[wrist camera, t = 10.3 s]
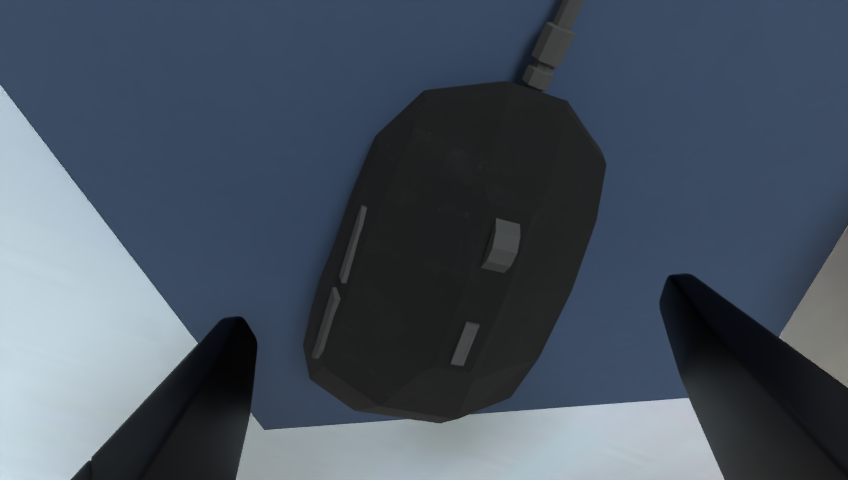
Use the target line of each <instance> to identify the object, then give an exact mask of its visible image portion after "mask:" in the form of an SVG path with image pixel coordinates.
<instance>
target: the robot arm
mask: <svg viewBox="0 0 848 480" xmlns="http://www.w3.org/2000/svg"><path fill="white" fill-rule="evenodd" d="M659 307H660V312H661V316H662V319H663V322H664V326H665V329H666V332H667V336H668V339H669V342H670V345H671V349H672V352H673V355H674V359H675V362H676V365H677V368H678V372H679V375H680V378H681V380H682V383H683V385H684V388H685V390H686V392H687V395H688V397H689V399H690V401H691V404H692V406H693V408H694V411H695V413H696V415H697V417H698V420H699V422H700V424H701V427H702V429H703V431H704V433H705V436H706V438H707V440H708V443H709V445H710V447H711V450H712V452H713V454H714V456H715V459H716V461H717V463H718V466H719V468H720V470H721V472H722V475H723V477H724V479H725V480H848V388H847V387H846V386H844V385H843V384H842V383H840V382H839V381H838V380H836V379H835V378H833V377H832V376H831V375H829V374H828V373H827V372H825V371H824V370H822V369H821V368H820V367H818V366H817V365H816V364H814V363H813V362H812V361H810V360H809V359H807V358H806V357H805V356H803V355H802V354H801V353H799V352H798V351H796V350H795V349H794V348H792V347H791V346H790V345H788V344H787V343H786V342H784V341H783V340H781V339H780V338H779V337H777V336H776V335H775V334H773V333H772V332H770V331H769V330H768V329H766V328H765V327H764V326H762V325H761V324H760V323H758V322H757V321H755V320H754V319H753V318H751V317H750V316H749V315H747V314H746V313H744V312H743V311H742V310H740V309H739V308H738V307H736V306H735V305H734V304H732V303H731V302H729V301H728V300H727V299H725V298H724V297H723V296H721V295H720V294H719V293H717V292H716V291H714V290H713V289H712V288H710V287H709V286H708V285H706V284H705V283H703V282H702V281H701V280H699V279H698V278H697V277H695V276H694V275H692V274H689V273H682V274H672V275H669V276H668V277H667V279H666V281H665V284H664V288H663V291H662V294H661V297H660V301H659ZM257 349H258V344H257V339H256V337H255V335H254V333H253V332H252V330H251V328H250V327H249V325H248V324H247V322H246V320H245V319H244V318H243V317H241V316H233V317H225V318H223V319H221V320H220V321H219V322H218V323H217V324H216V325H215V326H214V327H213V328H212V329H211V330H210V332H209V333H208V334H207V335H206V336H205V337H204V338H203V339H202V340H201V341H200V342H199V343H198V344H197V345H196V346H195V348H194V349H193V350H192V351H191V352H190V353H189V354H188V355H187V356H186V357H185V358H184V359H183V360H182V361H181V362H180V364H179V365H178V366H177V367H176V368H175V369H174V370H173V371H172V372H171V373H170V374H169V375H168V376H167V377H166V379H165V380H164V381H163V382H162V383H161V384H160V385H159V386H158V387H157V388H156V389H155V390H154V391H153V392H152V393H151V395H150V396H149V397H148V398H147V399H146V400H145V401H144V402H143V403H142V404H141V405H140V406H139V407H138V408H137V409H136V411H135V412H134V413H133V414H132V415H131V416H130V417H129V418H128V419H127V420H126V421H125V422H124V423H123V424H122V425H121V427H120V428H119V429H118V430H117V431H116V432H115V433H114V434H113V435H112V436H111V437H110V438H109V439H108V440H107V442H106V443H105V444H104V445H103V446H102V447H101V448H100V449H99V450H98V451H97V452H96V453H95V454H94V455H93V456H92V459H91V460H90V461H88V462H87V463H86V464H85V465H84V466H83V467H82V468H81V469H80V470H79V471H78V472H77V473H76V474H75V476H74V477H73V478H72V479H71V480H236V475H237V471H238V466H239V462H240V457H241V453H242V449H243V444H244V440H245V435H246V431H247V426H248V422H249V416H250V411H251V404H252V395H253V386H254V377H255V367H256V358H257Z"/></svg>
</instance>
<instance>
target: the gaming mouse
mask: <svg viewBox="0 0 848 480" xmlns="http://www.w3.org/2000/svg"><path fill="white" fill-rule="evenodd" d="M584 1H585V0H563V1H562V3H561V5H560V8H559V10H558V12H557V14H556V16H555V19H554V21H553V22H546V23H545V26H544V28H543V30H542V32H541V35H540V37H539V39H538V41H537V43H536V46H535V48H534V50H533V52H532V56H533V57H535V59H534V62H533V63H530V64H529V65H528V67H527V69H526V71H525V74H524V76H523V78H522V80H523V81H524V82H525V83H524V85H523V86H521V85H518V84H515V83H512V82H509V81H498V82H490V83H481V84H473V85H464V86H456V87H447V88H438V89H430V90H424V91H423V92H422V93H421V94H420V95H418V96H417V97H416V98H415V99H414V100H413V101H412V102H411V103H410V104H409V105H408V106H407V107H406V108H405V109H404V110H402V111H401V112H400V113H399V114H398V115H397V116H396V117H395V118H394V119H393V120H392V121H391V122H390V123H389V124H387V125H386V126H385V127H384V128H383V129H382V130H381V131H380V132H379V133H378V134H377V135H376V136H375V138H374V140H373V143H372V145H371V148H370V150H369V152H368V155H367V157H366V159H365V162H364V164H363V167H362V169H361V171H360V174H359V176H358V179H357V181H356V183H355V186H354V188H353V190H352V193H351V196H350V199H349V202H348V205H347V208H346V211H345V214H344V217H343V220H342V223H341V226H340V229H339V232H338V235H337V237H336V240H335V243H334V246H333V248H332V251H331V253H330V256H329V258H328V261H327V263H326V266H325V268H324V270H323V273H322V275H321V278H320V281H319V284H318V288H317V291H316V294H315V297H314V301H313V304H312V307H311V311H310V316H309V320H308V325H307V329H306V334H305V338H304V343H303V348H304V353H305V358H306V363H307V368H308V373H309V378H310V380H311V381H313V382H314V383H316V384H317V385H319V386H320V387H321V388H323V389H324V390H326V391H327V392H329V393H330V394H331V395H333V396H334V397H336V398H337V399H338V400H340V401H341V402H343V403H344V404H346V405H347V406H348V407H350V408H351V409H353V410H354V411H358V412H365V413H372V414H379V415H386V416H393V417H400V418H407V419H414V420H421V421H428V422H434V423H443V422H447V421H452V420H456V419H459V418H461V417H464V416H466V415H469V414H471V413H474V412H476V411H479V410H481V409H484V408H486V407H489V406H491V405H494V404H496V403H499V402H501V401H504V400H506V399H509V398H511V396H512V395H513V394H514V392H515V391H516V389H517V388H518V387H519V385H520V384H521V382H522V381H523V380H524V378H525V377H526V375H527V374H528V373H529V371H530V370H531V368H532V367H533V366H534V364H535V363H536V361H537V360H538V359H539V357H540V355H541V353H542V351H543V349H544V347H545V345H546V343H547V341H548V339H549V336H550V334H551V332H552V330H553V328H554V326H555V324H556V322H557V320H558V318H559V316H560V314H561V312H562V310H563V308H564V306H565V304H566V302H567V300H568V298H569V296H570V294H571V292H572V289H573V286H574V283H575V281H576V278H577V275H578V272H579V269H580V266H581V263H582V261H583V258H584V255H585V252H586V249H587V246H588V244H589V241H590V238H591V235H592V232H593V229H594V227H595V224H596V221H597V216H598V210H599V204H600V199H601V193H602V187H603V182H604V176H605V170H606V165H607V164H606V161H605V158H604V155H603V153H602V151H601V149H600V147H599V145H598V144H597V143H596V142H595V141H594V140H593V138H592V137H591V135H590V134H589V132H588V131H587V129H586V128H585V126H584V125H583V123H582V122H581V120H580V119H579V117H578V116H577V114H576V113H575V111H574V110H573V108H572V107H571V105H570V104H569V102H568V101H566V100H563V99H560V98H557V97H554V96H551V95H548V94H545V93H542V91H543V90H546V91H547V89H548V87H549V85H550V83H551V81H552V78H553V76H554V73H553V72H552V71H553V69H554V67H555V66H556V67H560V65H561V63H562V61H563V59H564V57H565V55H566V53H567V51H568V49H569V46H570V44H571V42H572V40H573V38H574V36H575V33H574V32H573V31H571V28H572V26H573V24H574V22H575V20H576V18H577V16H578V14H579V12H580V9H581V7H582V5H583V3H584Z"/></svg>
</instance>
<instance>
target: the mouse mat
mask: <svg viewBox="0 0 848 480" xmlns="http://www.w3.org/2000/svg"><path fill="white" fill-rule="evenodd" d="M562 1H563V0H0V85H1V86H2V87H3V89H4V90H5V91H6V93H7V94H8V95H9V96H10V98H11V99H12V100H13V102H14V103H15V104H16V106H17V107H18V108H19V110H20V111H21V112H22V113H23V115H24V116H25V117H26V119H27V120H28V121H29V123H30V124H31V125H32V127H33V128H34V129H35V130H36V132H37V133H38V134H39V136H40V137H41V138H42V140H43V141H44V142H45V144H46V145H47V146H48V148H49V149H50V150H51V151H52V153H53V154H54V155H55V157H56V158H57V159H58V161H59V162H60V163H61V165H62V166H63V167H64V168H65V170H66V171H67V172H68V174H69V175H70V176H71V178H72V179H73V180H74V182H75V183H76V184H77V185H78V187H79V188H80V189H81V191H82V192H83V193H84V195H85V196H86V197H87V199H88V200H89V201H90V202H91V204H92V205H93V206H94V208H95V209H96V210H97V212H98V213H99V214H100V216H101V217H102V218H103V219H104V221H105V222H106V223H107V225H108V226H109V227H110V229H111V230H112V231H113V233H114V234H115V235H116V236H117V238H118V239H119V240H120V242H121V243H122V244H123V246H124V247H125V248H126V250H127V251H128V252H129V253H130V255H131V256H132V257H133V259H134V260H135V261H136V263H137V264H138V265H139V267H140V268H141V269H142V270H143V272H144V273H145V274H146V276H147V277H148V278H149V280H150V281H151V282H152V284H153V285H154V286H155V287H156V289H157V290H158V291H159V293H160V294H161V295H162V297H163V298H164V299H165V301H166V302H167V303H168V304H169V306H170V307H171V308H172V310H173V311H174V312H175V314H176V315H177V316H178V318H179V319H180V320H181V321H182V323H183V324H184V325H185V327H186V328H187V329H188V331H189V332H190V333H191V335H192V336H193V337H194V338H195V340H196V341H197V342H198V343H199V342H200V341H201V340H202V339H203V338H204V337H205V336H206V335H207V334H208V333H209V332H210V330H211V329H212V328H213V327H214V326H215V325H216V324H217V323H218V322H219V321H220V320H221V319H223V318H225V317H233V316H241V317H243V318H244V319H245V320H246V322H247V324H248V325H249V327H250V328H251V330H252V332H253V333H254V335H255V337H256V339H257V344H258V349H257V358H256V367H255V377H254V386H253V395H252V404H251V411H250V412H251V413H252V414H253V416H254V417H255V418H256V420H257V421H258V422H259V424H260V425H261V426H262V427H263V429H264V430H270V429H283V428H296V427H309V426H322V425H336V424H349V423H362V422H375V421H388V420H401V419H407V418H400V417H393V416H386V415H379V414H372V413H365V412H358V411H354V410H353V409H351V408H350V407H348V406H347V405H346V404H344V403H343V402H341V401H340V400H338V399H337V398H336V397H334V396H333V395H331V394H330V393H329V392H327V391H326V390H324V389H323V388H321V387H320V386H319V385H317V384H316V383H314V382H313V381H311V380H310V378H309V373H308V368H307V363H306V358H305V353H304V348H303V343H304V338H305V334H306V329H307V325H308V320H309V316H310V311H311V307H312V304H313V301H314V297H315V294H316V291H317V288H318V284H319V281H320V278H321V275H322V273H323V270H324V268H325V266H326V263H327V261H328V258H329V256H330V253H331V251H332V248H333V246H334V243H335V240H336V237H337V235H338V232H339V229H340V226H341V223H342V220H343V217H344V214H345V211H346V208H347V205H348V202H349V199H350V196H351V193H352V190H353V188H354V186H355V183H356V181H357V179H358V176H359V174H360V171H361V169H362V167H363V164H364V162H365V159H366V157H367V155H368V152H369V150H370V148H371V145H372V143H373V140H374V138H375V136H376V135H377V134H378V133H379V132H380V131H381V130H382V129H383V128H384V127H385V126H386V125H387V124H389V123H390V122H391V121H392V120H393V119H394V118H395V117H396V116H397V115H398V114H399V113H400V112H401V111H402V110H404V109H405V108H406V107H407V106H408V105H409V104H410V103H411V102H412V101H413V100H414V99H415V98H416V97H417V96H418V95H420V94H421V93H422V92H423V91H424V90H430V89H438V88H447V87H456V86H464V85H473V84H481V83H490V82H498V81H509V82H512V83H515V84H518V85H521V86H523V85H524V83H525V82H524V81H523V80H522V78H523V76H524V74H525V71H526V69H527V67H528V65H529V64H530V63H533V62H534V59H535V57H533V56H532V52H533V50H534V48H535V46H536V43H537V41H538V39H539V37H540V35H541V32H542V30H543V28H544V26H545V23H546V22H553V21H554V19H555V16H556V14H557V12H558V10H559V8H560V5H561V3H562ZM571 31H573V32H574V33H575V36H574V38H573V40H572V42H571V44H570V46H569V49H568V51H567V53H566V55H565V57H564V59H563V61H562V63H561V65H560V67H556V66H555V67H554V69H553V71H552V72H553V73H554V76H553V78H552V81H551V83H550V85H549V87H548V89H547V91H546V90H543V91H542V93H545V94H548V95H551V96H554V97H557V98H560V99H563V100H566V101H568V102H569V104H570V105H571V107H572V108H573V110H574V111H575V113H576V114H577V116H578V117H579V119H580V120H581V122H582V123H583V125H584V126H585V128H586V129H587V131H588V132H589V134H590V135H591V137H592V138H593V140H594V141H595V142H596V143H597V144H598V145H599V147H600V149H601V151H602V153H603V155H604V158H605V161H606V164H607V165H606V170H605V176H604V182H603V187H602V193H601V199H600V204H599V210H598V216H597V221H596V224H595V227H594V229H593V232H592V235H591V238H590V241H589V244H588V246H587V249H586V252H585V255H584V258H583V261H582V263H581V266H580V269H579V272H578V275H577V278H576V281H575V283H574V286H573V289H572V292H571V294H570V296H569V298H568V300H567V302H566V304H565V306H564V308H563V310H562V312H561V314H560V316H559V318H558V320H557V322H556V324H555V326H554V328H553V330H552V332H551V334H550V336H549V339H548V341H547V343H546V345H545V347H544V349H543V351H542V353H541V355H540V357H539V359H538V360H537V361H536V363H535V364H534V366H533V367H532V368H531V370H530V371H529V373H528V374H527V375H526V377H525V378H524V380H523V381H522V382H521V384H520V385H519V387H518V388H517V389H516V391H515V392H514V394H513V395H512V396H511V398H509V399H506V400H504V401H501V402H499V403H496V404H494V405H491V406H489V407H486V408H484V409H481V410H479V411H476V412H474V413H471V414H480V413H493V412H507V411H520V410H533V409H546V408H559V407H572V406H585V405H599V404H612V403H625V402H638V401H651V400H664V399H678V398H689V397H688V395H687V392H686V390H685V388H684V385H683V383H682V380H681V378H680V375H679V372H678V368H677V365H676V362H675V359H674V355H673V352H672V349H671V345H670V342H669V339H668V336H667V332H666V329H665V326H664V322H663V319H662V316H661V312H660V307H659V301H660V297H661V294H662V291H663V288H664V284H665V281H666V279H667V277H668V276H669V275H672V274H682V273H689V274H692V275H694V276H695V277H697V278H698V279H699V280H701V281H702V282H703V283H705V284H706V285H708V286H709V287H710V288H712V289H713V290H714V291H716V292H717V293H719V294H720V295H721V296H723V297H724V298H725V299H727V300H728V301H729V302H731V303H732V304H734V305H735V306H736V307H738V308H739V309H740V310H742V311H743V312H744V313H746V314H747V315H749V316H750V317H751V318H753V319H754V320H755V321H757V322H758V323H760V324H761V325H762V326H764V327H765V328H766V329H768V330H769V331H770V332H772V333H773V334H775V335H776V336H777V337H779V335H780V334H781V332H782V331H783V329H784V327H785V326H786V324H787V322H788V321H789V319H790V318H791V316H792V314H793V313H794V311H795V309H796V308H797V306H798V305H799V303H800V301H801V300H802V298H803V297H804V295H805V293H806V292H807V290H808V288H809V287H810V285H811V284H812V282H813V280H814V279H815V277H816V275H817V274H818V272H819V271H820V269H821V267H822V266H823V264H824V263H825V261H826V259H827V258H828V256H829V254H830V253H831V251H832V250H833V248H834V246H835V245H836V243H837V241H838V240H839V238H840V237H841V235H842V233H843V232H844V230H845V229H846V227H847V225H848V0H585V1H584V3H583V5H582V7H581V9H580V12H579V14H578V16H577V18H576V20H575V22H574V24H573V26H572V28H571Z"/></svg>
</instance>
